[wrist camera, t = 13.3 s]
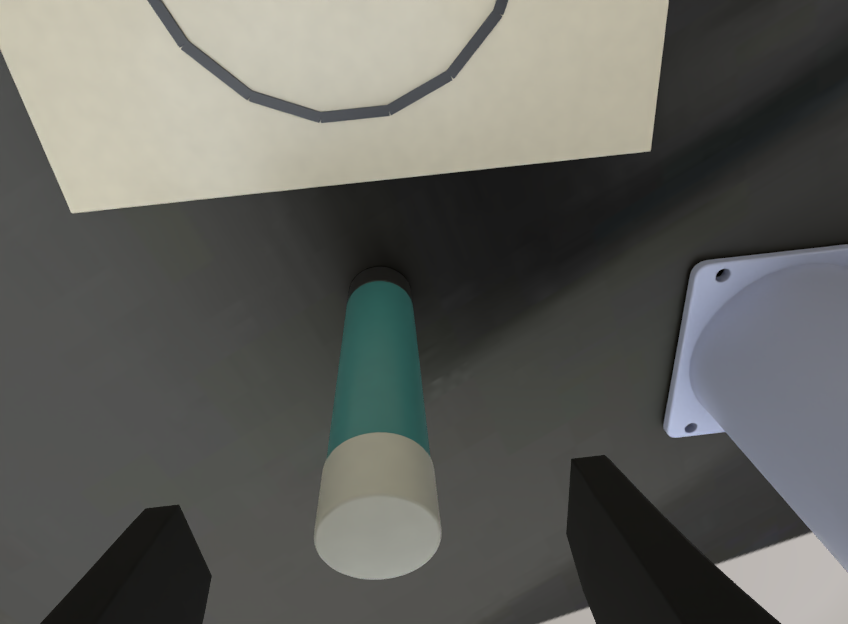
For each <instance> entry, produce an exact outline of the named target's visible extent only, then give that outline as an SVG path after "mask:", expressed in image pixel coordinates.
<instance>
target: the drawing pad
mask: <svg viewBox="0 0 848 624" xmlns="http://www.w3.org/2000/svg"><path fill="white" fill-rule="evenodd" d="M668 3H669V0H0V49H1V52H2V54H3V56H4V59H5V61H6V63H7V66H8V68H9V70H10V72H11V75H12V77H13V79H14V82H15V84H16V86H17V89H18V91H19V93H20V96H21V98H22V100H23V102H24V105H25V107H26V109H27V112H28V114H29V116H30V119H31V121H32V123H33V126H34V128H35V130H36V132H37V135H38V137H39V139H40V142H41V144H42V146H43V149H44V151H45V153H46V156H47V158H48V160H49V162H50V165H51V167H52V169H53V172H54V174H55V176H56V179H57V181H58V183H59V185H60V188H61V190H62V192H63V195H64V197H65V199H66V202H67V204H68V206H69V209H70V211H71V213H81V212H90V211H99V210H109V209H118V208H127V207H136V206H146V205H155V204H164V203H174V202H183V201H192V200H202V199H211V198H220V197H230V196H239V195H248V194H258V193H267V192H276V191H286V190H295V189H304V188H313V187H323V186H332V185H341V184H351V183H360V182H369V181H379V180H388V179H397V178H407V177H416V176H425V175H435V174H444V173H453V172H463V171H472V170H481V169H490V168H500V167H509V166H518V165H528V164H537V163H546V162H556V161H565V160H574V159H584V158H593V157H602V156H612V155H621V154H630V153H640V152H649V151H651V144H652V136H653V127H654V119H655V111H656V103H657V94H658V86H659V78H660V70H661V61H662V53H663V45H664V36H665V28H666V20H667V12H668Z"/></svg>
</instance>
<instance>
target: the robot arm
mask: <svg viewBox="0 0 848 624" xmlns="http://www.w3.org/2000/svg"><path fill="white" fill-rule="evenodd" d="M722 269H724V271H723V273H722V274H721V275H720V276H719V277H716V275H717V273H718V272H719V271H720V270H722ZM690 423H691V424H690ZM688 424H689V425H688ZM687 425H688V426H687ZM663 428H664V430H665V431H666V433H667V434H668V435H669V436H670V437H673V438H678V437H686V436H695V435H703V434H711V433H720V432H726V433H727V434H728V435H729V437H730V438H731V439H732V440H733V441H734V442H735V443H736V445H737V446H738V447H739V448H740V449H741V450H742V451H743V453H744V454H745V455H746V456H747V457H748V458H749V460H750V461H751V462H752V463H753V464H754V465H755V466H756V468H757V469H758V470H759V471H760V472H761V473H762V474H763V476H764V477H765V478H766V479H767V480H768V481H769V483H770V484H771V485H772V486H773V487H774V488H775V489H776V491H777V492H778V493H779V494H780V495H781V496H782V497H783V499H784V500H785V501H786V502H787V503H788V504H789V506H790V507H791V508H792V509H793V510H794V511H795V512H796V514H797V515H798V516H799V517H800V518H801V519H802V520H803V522H804V523H805V524H806V525H807V526H808V527H809V528H810V530H811V531H812V532H813V533H814V534H815V535H816V537H817V538H818V539H819V540H820V541H821V542H822V543H823V545H824V546H825V547H826V548H827V549H828V550H829V551H830V553H831V554H832V555H833V556H834V557H835V558H836V559H837V561H838V562H839V563H840V564H841V565H842V566H843V568H844V569H845V570H846V571H847V572H848V244H845V245H836V246H827V247H818V248H809V249H800V250H791V251H783V252H774V253H765V254H756V255H747V256H738V257H729V258H720V259H711V260H705V261H701V262H699V263H698V264H696V265H695V266H694V268H693V269H692V270H691V273H690V277H689V283H688V288H687V294H686V300H685V305H684V311H683V317H682V322H681V328H680V334H679V339H678V345H677V350H676V356H675V362H674V367H673V373H672V379H671V384H670V390H669V396H668V401H667V407H666V413H665V418H664V424H663ZM566 534H567V537H568V541H569V544H570V548H571V551H572V555H573V558H574V562H575V565H576V569H577V572H578V575H579V579H580V582H581V585H582V589H583V592H584V594H585V597H586V599H587V602H588V604H589V607H590V609H591V611H592V614H593V617H594V619H595V622H596V624H781V623H779V621H778V620H776V619H775V618H774V617H773V616H772V615H770V614H769V613H768V612H767V611H766V610H765V609H764V608H762V607H761V606H760V605H759V604H758V603H757V602H756V601H754V600H753V599H752V598H751V597H750V596H749V595H748V594H746V593H745V592H744V591H743V590H742V589H741V588H740V587H738V586H737V585H736V584H735V583H734V582H733V581H732V580H730V578H728V577H727V576H726V575H725V574H724V573H723V572H722V571H721V570H720V569H719V568H717V567H716V566H715V565H714V564H713V563H712V562H711V561H710V560H709V559H708V558H707V557H706V556H705V555H704V554H703V553H702V552H701V551H700V550H698V549H697V548H696V547H695V546H694V545H693V544H692V543H691V542H690V541H689V540H688V539H687V538H686V537H685V536H684V535H683V534H682V533H681V532H680V531H679V530H678V529H677V528H676V527H675V526H674V525H673V524H672V523H670V522H669V521H668V520H667V519H666V518H665V517H664V516H663V515H662V514H661V512H660V511H659V510H658V509H657V508H656V507H655V506H654V505H653V504H652V503H651V502H650V501H649V500H648V499H647V498H646V497H645V496H644V495H643V494H642V493H641V492H640V491H639V490H638V489H637V488H636V487H635V486H634V485H633V484H632V483H631V482H630V480H629V479H628V478H627V477H626V476H625V475H624V474H623V473H622V472H621V471H620V470H619V469H618V468H617V467H616V466H615V465H614V463H613V462H612V461H611V460H610V459H609V458H607V457H606V456H605V455H601V456H592V457H583V458H575V459H571V473H570V488H569V503H568V518H567V533H566ZM211 577H212V576H211V573H210V571H209V569H208V567H207V565H206V562H205V560H204V558H203V556H202V554H201V552H200V549H199V547H198V545H197V543H196V541H195V538H194V536H193V534H192V532H191V530H190V528H189V525H188V523H187V521H186V519H185V517H184V514H183V512H182V510H181V508H180V506H179V505H172V506H164V507H155V508H147V509H145V510H144V511H143V512H142V513H141V514H140V515H139V516H138V517H137V518H136V519H135V520H134V521H133V522H132V524H131V525H130V526H129V527H128V528H127V529H126V530H125V531H124V532H123V533H122V535H121V536H120V537H119V538H118V539H117V540H116V541H115V542H114V543H113V544H112V546H111V547H110V548H109V549H108V550H107V551H106V552H105V553H104V555H103V556H102V557H101V558H100V559H99V560H98V561H97V562H96V563H95V564H94V566H93V567H92V568H91V569H90V570H89V571H88V572H87V573H86V574H85V576H84V577H83V578H82V579H81V580H80V581H79V582H78V583H77V584H76V585H75V587H74V588H73V589H72V590H71V591H70V592H69V593H68V594H67V595H66V596H65V597H64V598H63V600H62V601H61V602H60V603H59V604H58V605H57V606H56V607H55V608H54V609H53V610H52V611H51V613H50V614H49V615H48V616H47V617H46V618H45V619H44V620H43V621H42V622H41V623H40V624H202V622H203V618H204V613H205V609H206V603H207V598H208V593H209V587H210V582H211Z"/></svg>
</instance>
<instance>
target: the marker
mask: <svg viewBox="0 0 848 624" xmlns="http://www.w3.org/2000/svg"><path fill="white" fill-rule="evenodd" d="M440 541H441V522H440V514H439V506H438V497H437V489H436V481H435V472H434V466H433V463H432V460H431V458H430V450H429V441H428V433H427V424H426V415H425V407H424V398H423V389H422V381H421V372H420V363H419V354H418V346H417V337H416V328H415V320H414V311H413V302H412V294H411V288H410V285H409V283H408V281H407V280H406V278H405V277H404V276H403V275H402V274H400V273H399V272H397V271H396V270H394V269H391V268H387V267H372V268H369V269H366V270H364V271H362V272H361V273H359V274H358V275H357V276H356V277H355V278H354V280H353V281H352V283H351V285H350V288H349V293H348V301H347V308H346V316H345V323H344V331H343V339H342V346H341V354H340V362H339V369H338V377H337V384H336V392H335V400H334V407H333V415H332V423H331V430H330V438H329V445H328V453H327V460H326V462H325V464H324V467H323V472H322V479H321V487H320V494H319V501H318V509H317V516H316V523H315V530H314V543H315V547H316V549H317V552H318V554H319V555H320V557H321V558H322V559H323V561H324V562H325V563H326V564H328V565H329V566H330V567H332V568H333V569H335V570H336V571H338V572H340V573H343V574H345V575H348V576H352V577H356V578H361V579H388V578H394V577H398V576H402V575H404V574H407V573H410V572H412V571H414V570H416V569H418V568H419V567H421V566H422V565H424V564H425V563H426V562H427V561H428V560H429V559H431V557H432V556H433V555H434V554H435V552H436V550H437V549H438V546H439V544H440Z"/></svg>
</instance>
